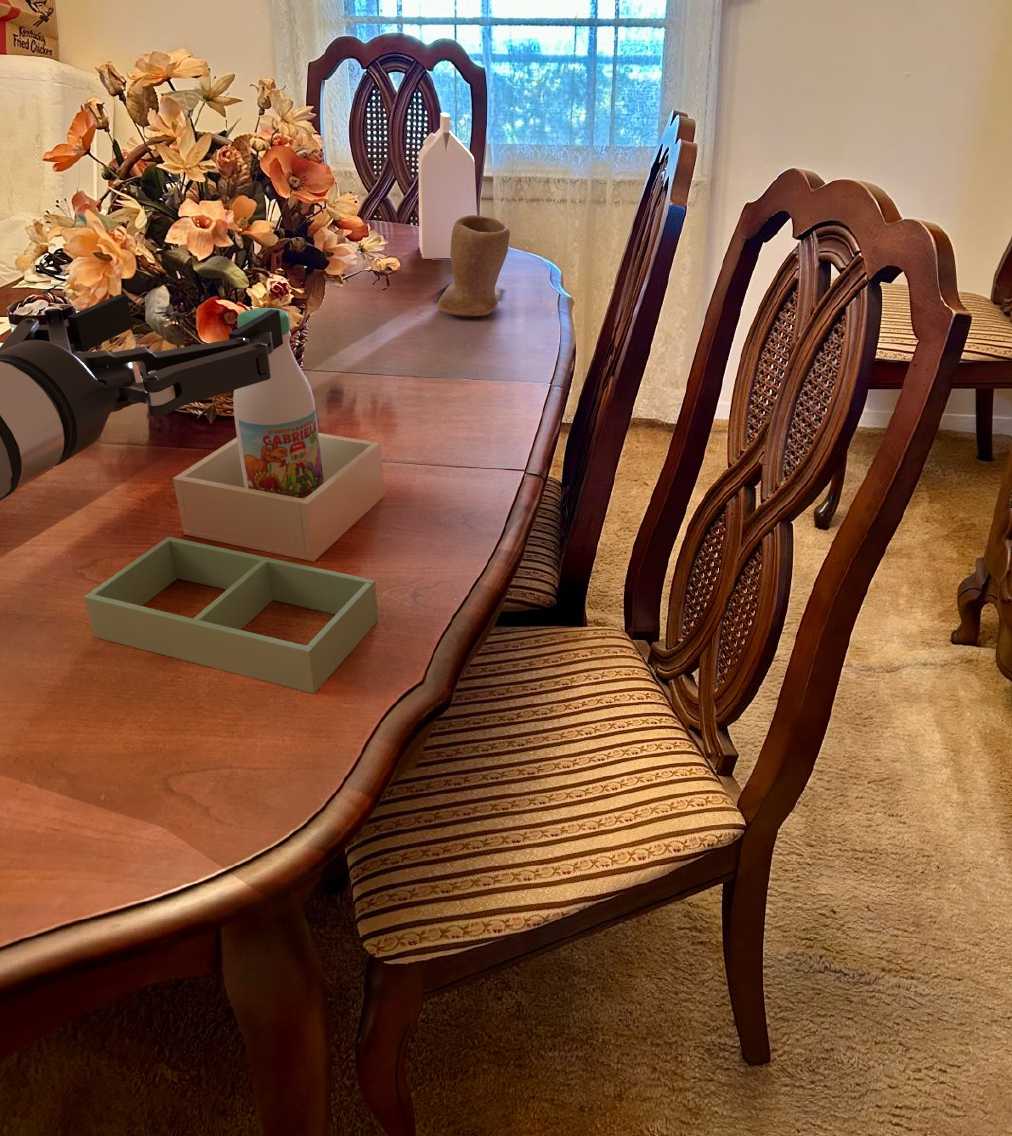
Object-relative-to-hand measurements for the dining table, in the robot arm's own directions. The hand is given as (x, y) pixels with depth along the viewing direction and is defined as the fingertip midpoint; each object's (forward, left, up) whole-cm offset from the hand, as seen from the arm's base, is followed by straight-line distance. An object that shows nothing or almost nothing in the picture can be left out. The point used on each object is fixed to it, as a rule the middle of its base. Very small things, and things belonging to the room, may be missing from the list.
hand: (200, 318), depth 75 cm
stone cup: (-11, +86, -23) cm, 89 cm away
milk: (-32, +123, -23) cm, 129 cm away
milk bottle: (-1, +10, -22) cm, 24 cm away
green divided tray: (+6, -9, -23) cm, 25 cm away
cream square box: (-1, +10, -23) cm, 25 cm away
